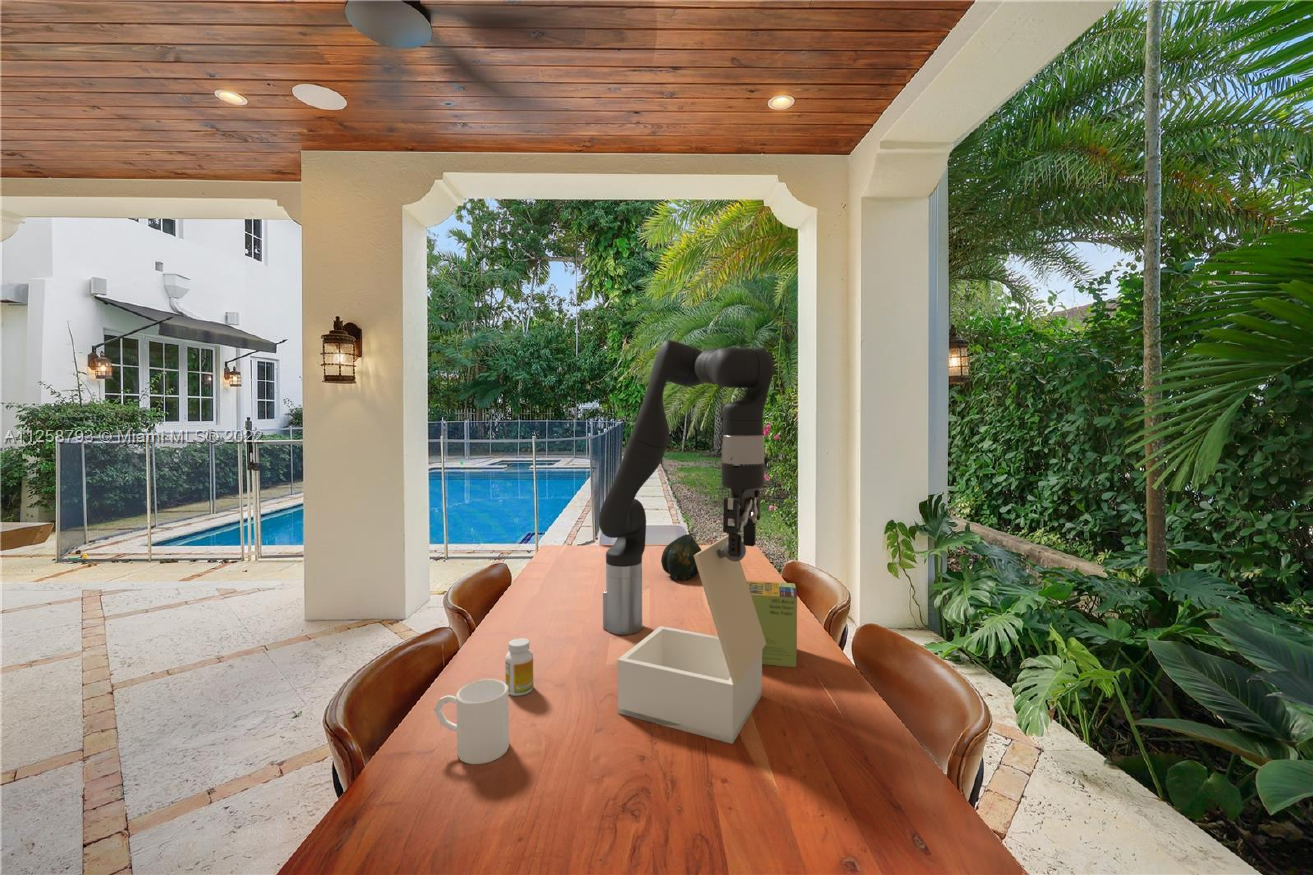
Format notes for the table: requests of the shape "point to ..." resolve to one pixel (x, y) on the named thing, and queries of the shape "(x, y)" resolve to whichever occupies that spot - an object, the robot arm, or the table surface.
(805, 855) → the table surface
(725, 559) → the lid
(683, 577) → the squash
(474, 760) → the mug
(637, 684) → the carton
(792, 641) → the protein box
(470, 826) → the table surface
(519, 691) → the supplement bottle
